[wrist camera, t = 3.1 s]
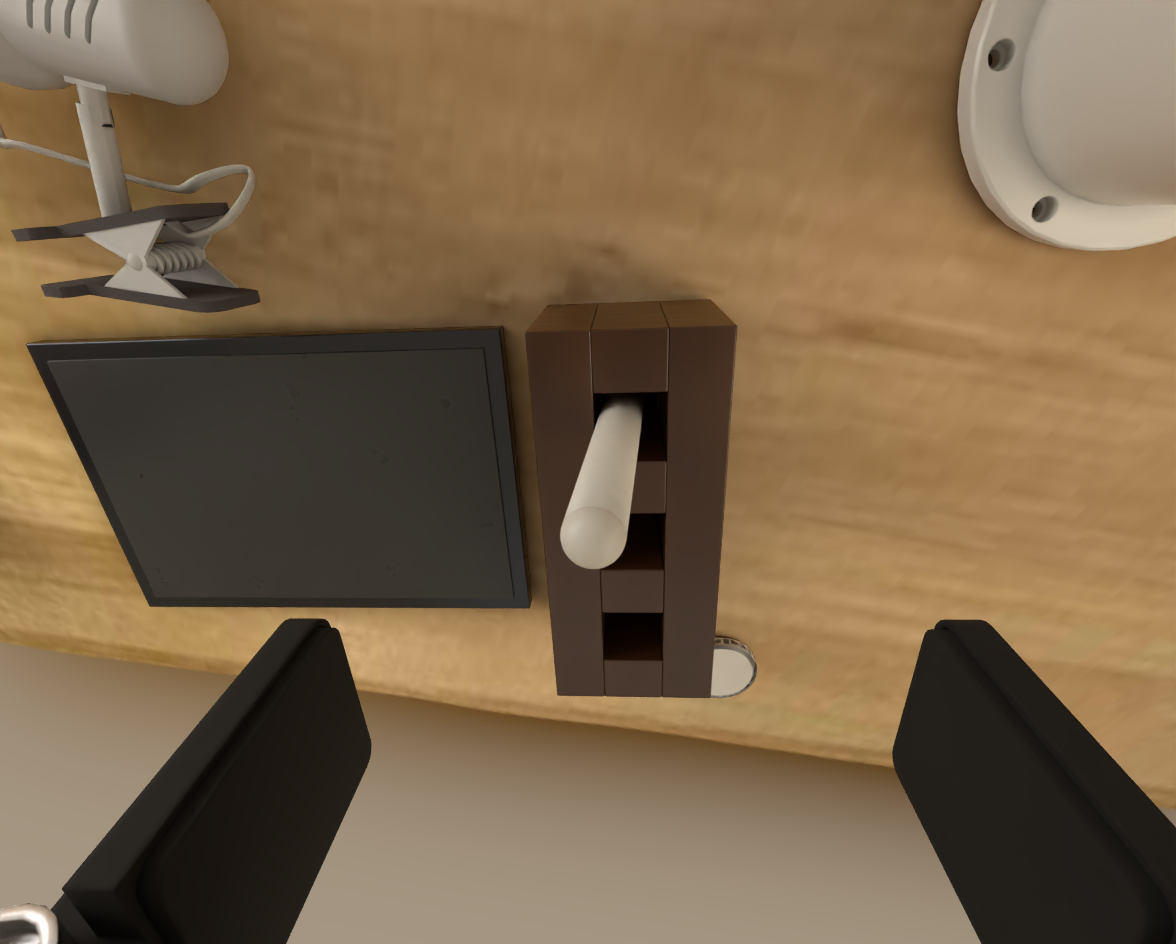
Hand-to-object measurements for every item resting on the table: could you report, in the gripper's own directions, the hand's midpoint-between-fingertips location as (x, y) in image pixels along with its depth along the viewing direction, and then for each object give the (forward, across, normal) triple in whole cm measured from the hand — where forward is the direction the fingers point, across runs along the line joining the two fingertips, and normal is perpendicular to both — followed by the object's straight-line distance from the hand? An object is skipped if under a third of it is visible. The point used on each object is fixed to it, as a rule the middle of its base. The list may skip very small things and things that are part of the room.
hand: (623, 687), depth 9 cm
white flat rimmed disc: (+18, -6, +17) cm, 25 cm away
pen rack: (+18, 0, +5) cm, 18 cm away
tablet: (+18, +16, +5) cm, 25 cm away
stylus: (+18, 0, 0) cm, 18 cm away
